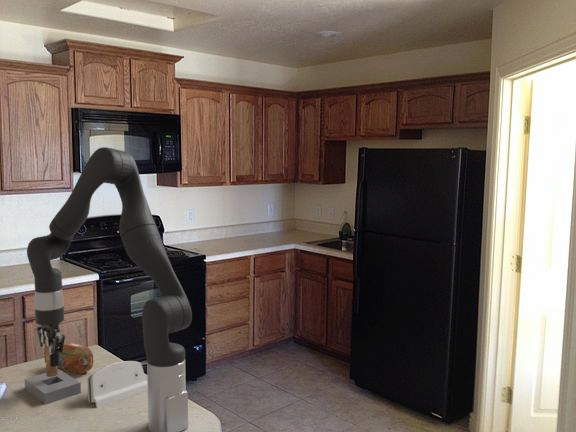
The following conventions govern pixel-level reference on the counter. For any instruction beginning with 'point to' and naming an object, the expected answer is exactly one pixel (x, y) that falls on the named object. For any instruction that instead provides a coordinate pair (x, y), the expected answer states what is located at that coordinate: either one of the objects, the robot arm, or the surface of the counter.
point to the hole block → (52, 386)
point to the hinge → (116, 382)
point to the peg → (49, 370)
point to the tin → (75, 358)
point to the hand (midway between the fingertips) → (51, 364)
